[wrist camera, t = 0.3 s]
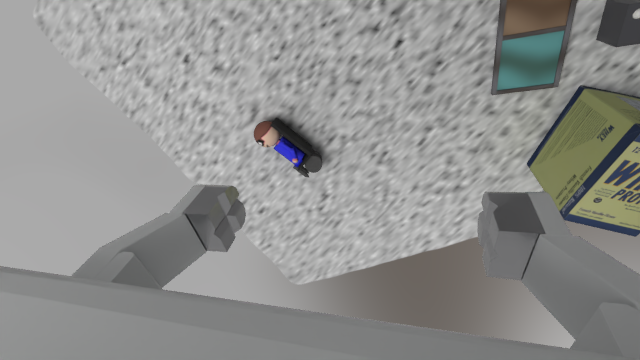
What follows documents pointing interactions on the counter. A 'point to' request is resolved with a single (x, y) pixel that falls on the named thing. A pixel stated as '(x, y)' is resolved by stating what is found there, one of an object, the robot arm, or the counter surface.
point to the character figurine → (288, 145)
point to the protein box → (594, 161)
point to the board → (531, 44)
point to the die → (620, 23)
